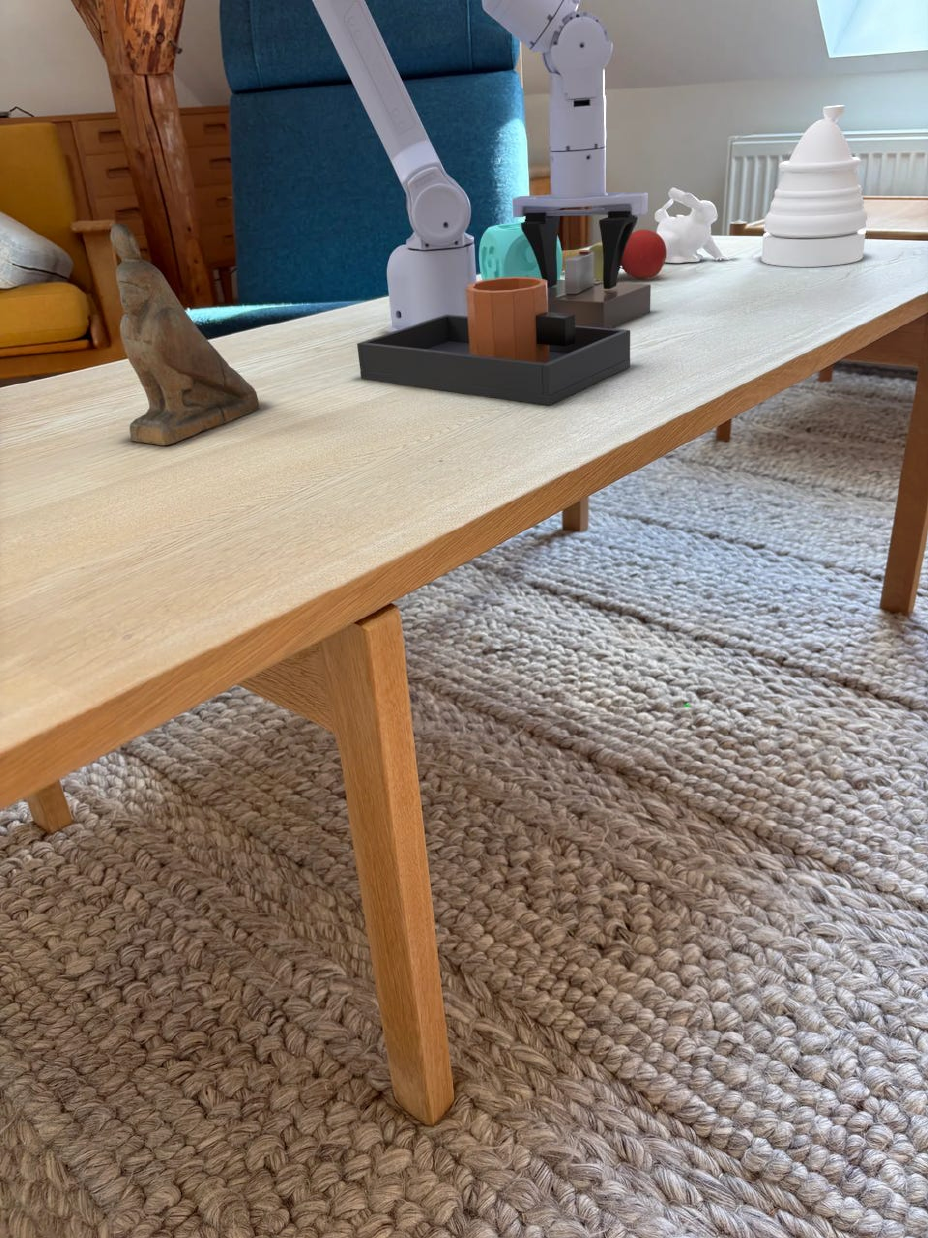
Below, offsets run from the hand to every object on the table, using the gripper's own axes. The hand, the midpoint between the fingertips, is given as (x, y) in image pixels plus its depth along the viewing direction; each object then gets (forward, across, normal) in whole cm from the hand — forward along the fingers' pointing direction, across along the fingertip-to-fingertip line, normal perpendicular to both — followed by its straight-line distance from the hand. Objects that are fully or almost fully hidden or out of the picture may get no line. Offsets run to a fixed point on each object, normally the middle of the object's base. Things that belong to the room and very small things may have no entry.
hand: (579, 286), depth 107 cm
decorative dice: (+3, +13, -12) cm, 18 cm away
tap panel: (+3, 0, 0) cm, 3 cm away
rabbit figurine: (+3, 0, -36) cm, 37 cm away
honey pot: (+3, -17, -40) cm, 43 cm away
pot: (+2, -4, +24) cm, 25 cm away
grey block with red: (0, 0, 0) cm, 0 cm away
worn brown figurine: (+4, +17, +44) cm, 47 cm away
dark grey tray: (+3, -1, +24) cm, 24 cm away
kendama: (+3, +7, -24) cm, 26 cm away
